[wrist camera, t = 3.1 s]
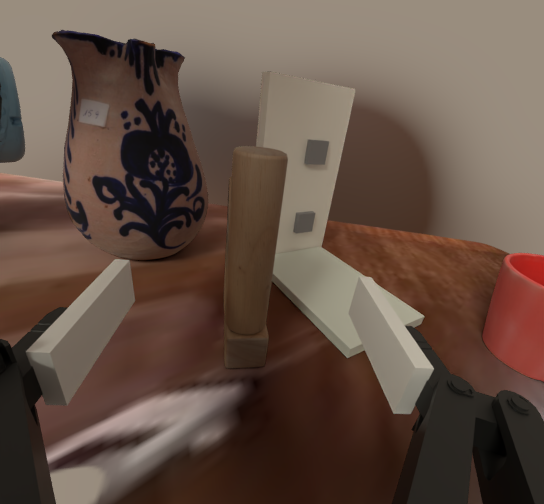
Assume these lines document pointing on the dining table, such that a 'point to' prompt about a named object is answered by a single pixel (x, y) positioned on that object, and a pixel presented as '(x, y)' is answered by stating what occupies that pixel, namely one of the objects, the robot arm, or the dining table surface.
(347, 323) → the white l-shaped bracket
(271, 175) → the wooden block
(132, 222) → the ceramic pitcher
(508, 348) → the flower pot
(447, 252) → the dining table surface
